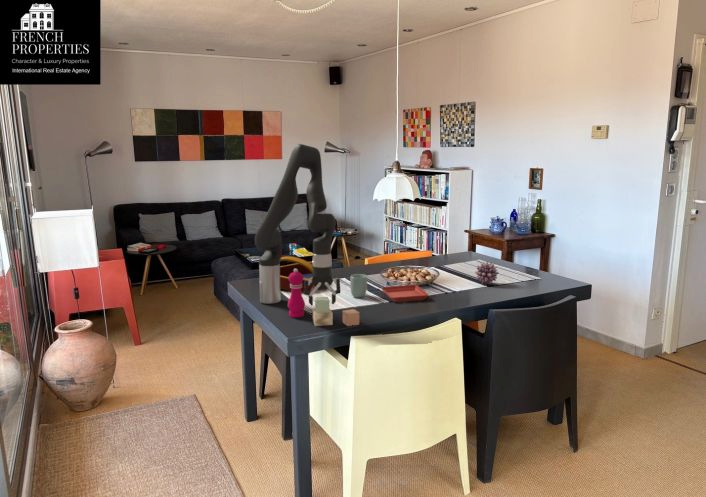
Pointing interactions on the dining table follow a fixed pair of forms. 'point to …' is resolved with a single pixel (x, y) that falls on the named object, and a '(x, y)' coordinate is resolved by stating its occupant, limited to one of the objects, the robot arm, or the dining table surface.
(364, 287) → the cup
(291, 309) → the pepper mill
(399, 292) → the plant saucer
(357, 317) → the terracotta cube
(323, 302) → the sage cube
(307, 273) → the decorative basket
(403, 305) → the dining table surface
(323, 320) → the birch block
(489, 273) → the purple spiky ball
